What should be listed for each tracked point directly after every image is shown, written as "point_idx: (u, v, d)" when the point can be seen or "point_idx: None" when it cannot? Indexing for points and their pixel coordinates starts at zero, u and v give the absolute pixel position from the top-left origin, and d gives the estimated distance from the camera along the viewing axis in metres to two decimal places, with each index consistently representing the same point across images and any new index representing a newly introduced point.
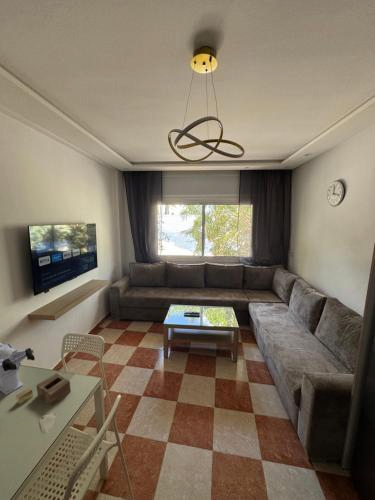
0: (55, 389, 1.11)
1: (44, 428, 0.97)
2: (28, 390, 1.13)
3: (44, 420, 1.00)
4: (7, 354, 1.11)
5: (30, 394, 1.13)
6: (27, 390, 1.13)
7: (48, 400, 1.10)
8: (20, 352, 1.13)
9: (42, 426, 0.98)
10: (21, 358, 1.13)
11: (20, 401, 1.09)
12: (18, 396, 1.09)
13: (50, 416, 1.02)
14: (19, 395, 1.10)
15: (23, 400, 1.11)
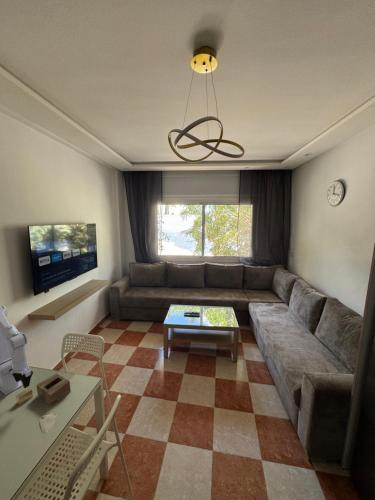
0: (55, 389, 1.11)
1: (44, 428, 0.97)
2: (28, 390, 1.13)
3: (44, 420, 1.00)
4: None
5: (30, 394, 1.13)
6: (27, 390, 1.13)
7: (48, 400, 1.10)
8: None
9: (42, 426, 0.98)
10: None
11: (20, 401, 1.09)
12: (18, 396, 1.09)
13: (50, 416, 1.02)
14: (19, 395, 1.10)
15: (23, 400, 1.11)
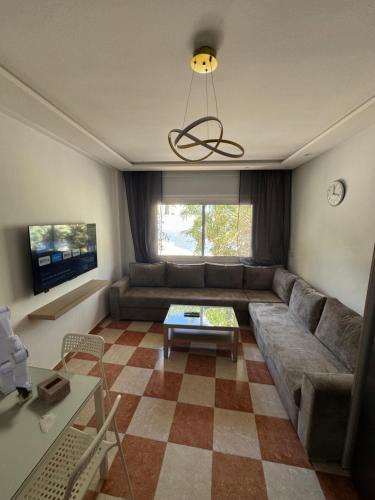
0: (55, 389, 1.11)
1: (45, 428, 0.97)
2: None
3: (44, 420, 1.00)
4: None
5: (30, 394, 1.13)
6: None
7: (48, 400, 1.10)
8: None
9: (42, 426, 0.98)
10: None
11: (20, 401, 1.09)
12: (18, 396, 1.09)
13: (50, 416, 1.02)
14: (19, 395, 1.10)
15: (23, 400, 1.11)
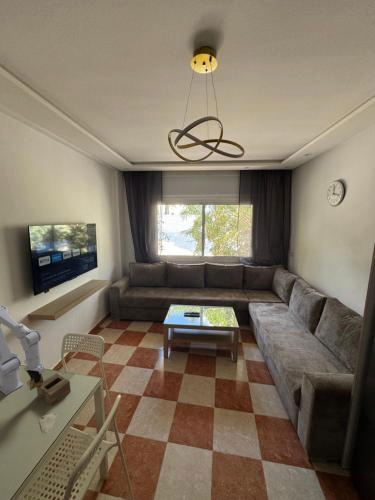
0: (55, 389, 1.11)
1: (45, 427, 0.97)
2: None
3: (44, 420, 1.00)
4: None
5: (41, 380, 1.13)
6: None
7: (48, 400, 1.10)
8: None
9: (42, 426, 0.98)
10: None
11: (31, 387, 1.09)
12: (29, 381, 1.09)
13: (50, 416, 1.02)
14: (30, 381, 1.10)
15: (34, 386, 1.11)
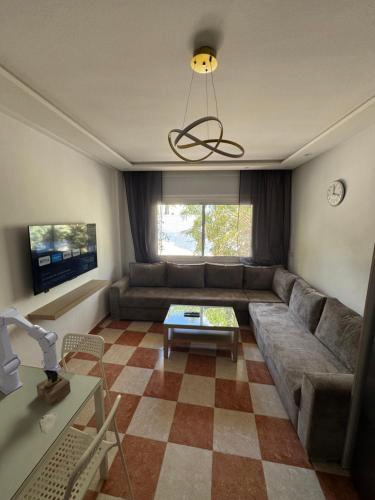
0: (55, 389, 1.11)
1: (45, 428, 0.97)
2: None
3: (44, 420, 1.00)
4: None
5: (58, 380, 1.16)
6: None
7: (48, 400, 1.10)
8: None
9: (42, 426, 0.98)
10: None
11: (49, 387, 1.12)
12: (47, 382, 1.12)
13: (50, 416, 1.02)
14: (48, 381, 1.13)
15: (51, 386, 1.13)
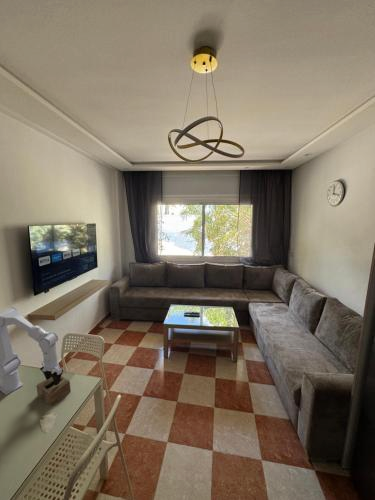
0: (55, 389, 1.11)
1: (45, 428, 0.97)
2: None
3: (44, 420, 1.00)
4: None
5: None
6: None
7: (48, 400, 1.10)
8: None
9: (42, 426, 0.98)
10: None
11: None
12: None
13: (50, 416, 1.02)
14: None
15: None
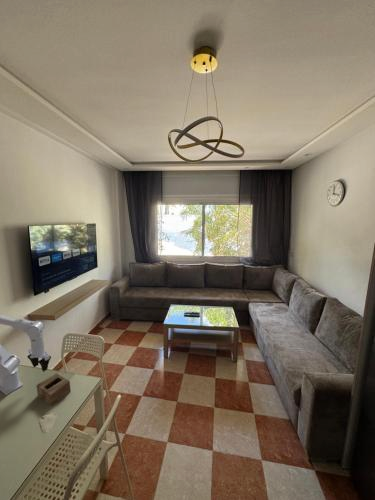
0: (55, 389, 1.11)
1: (45, 428, 0.97)
2: None
3: (44, 420, 1.00)
4: None
5: None
6: None
7: (48, 400, 1.10)
8: None
9: (42, 426, 0.98)
10: None
11: None
12: None
13: (50, 416, 1.02)
14: None
15: None
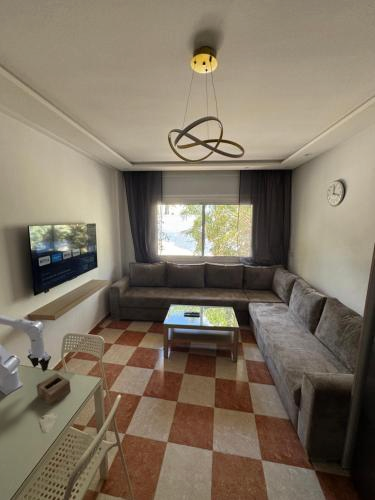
0: (55, 389, 1.11)
1: (45, 427, 0.97)
2: None
3: (44, 420, 1.00)
4: None
5: None
6: None
7: (48, 400, 1.10)
8: None
9: (42, 426, 0.98)
10: None
11: None
12: None
13: (50, 416, 1.02)
14: None
15: None
